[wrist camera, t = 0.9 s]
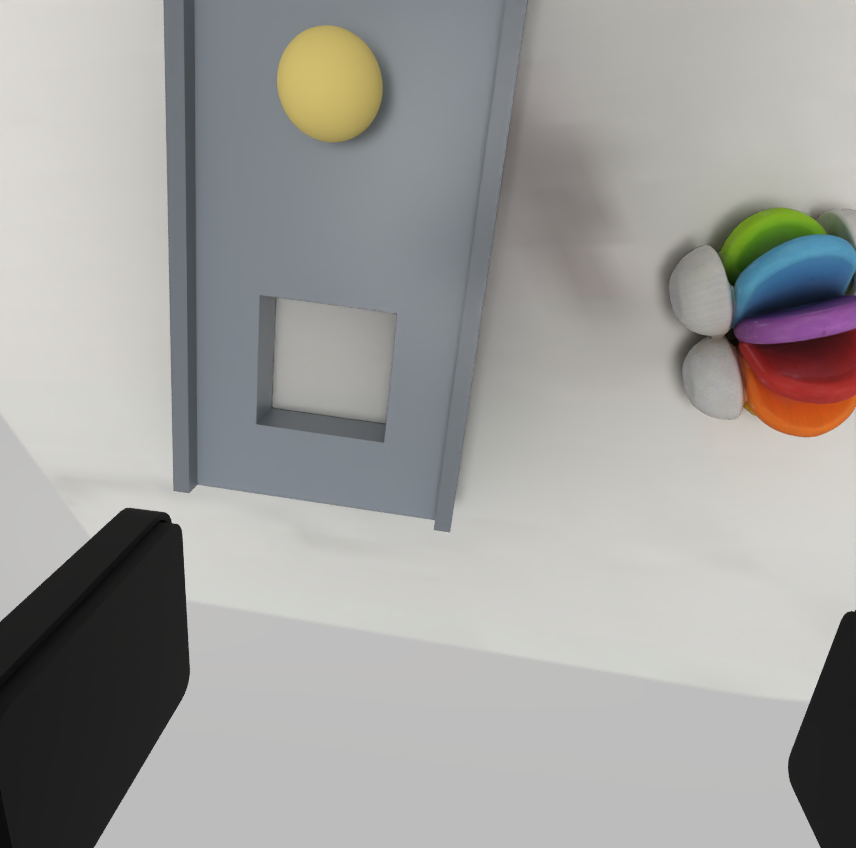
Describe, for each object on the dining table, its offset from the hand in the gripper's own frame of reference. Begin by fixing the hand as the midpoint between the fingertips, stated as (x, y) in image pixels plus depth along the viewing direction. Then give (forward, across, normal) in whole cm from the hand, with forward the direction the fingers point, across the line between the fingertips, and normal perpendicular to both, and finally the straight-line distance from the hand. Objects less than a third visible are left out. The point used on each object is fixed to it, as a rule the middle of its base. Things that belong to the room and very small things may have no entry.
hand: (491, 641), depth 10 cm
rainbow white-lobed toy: (+25, -12, -1) cm, 28 cm away
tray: (+25, +8, -2) cm, 26 cm away
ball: (+20, +7, -9) cm, 23 cm away
